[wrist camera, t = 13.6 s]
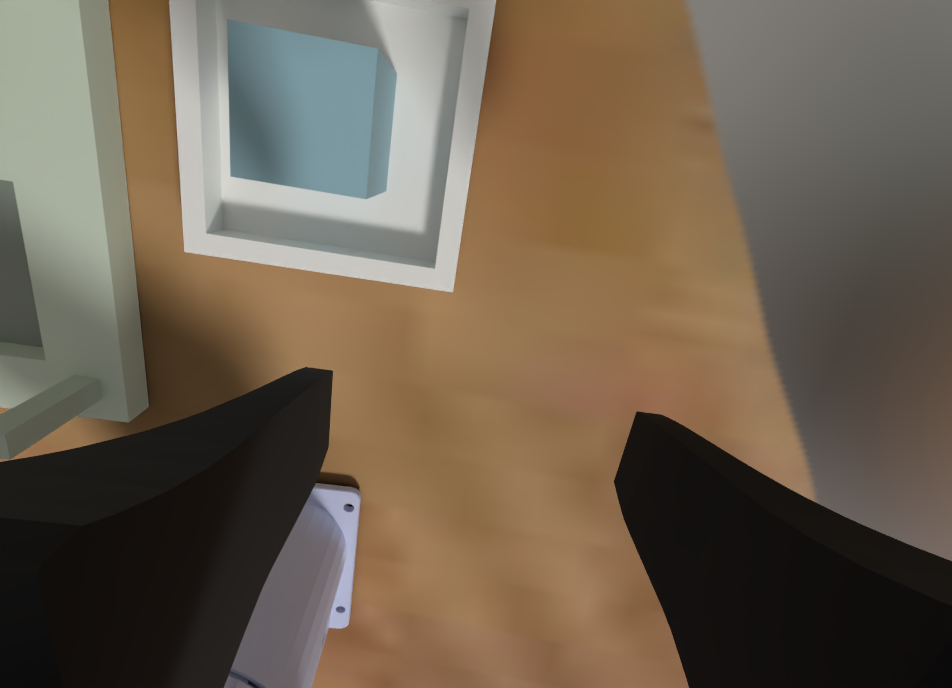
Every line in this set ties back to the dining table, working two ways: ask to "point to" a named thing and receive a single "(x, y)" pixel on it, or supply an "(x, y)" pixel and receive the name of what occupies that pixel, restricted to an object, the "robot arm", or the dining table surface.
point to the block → (309, 111)
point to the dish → (411, 152)
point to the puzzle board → (63, 226)
